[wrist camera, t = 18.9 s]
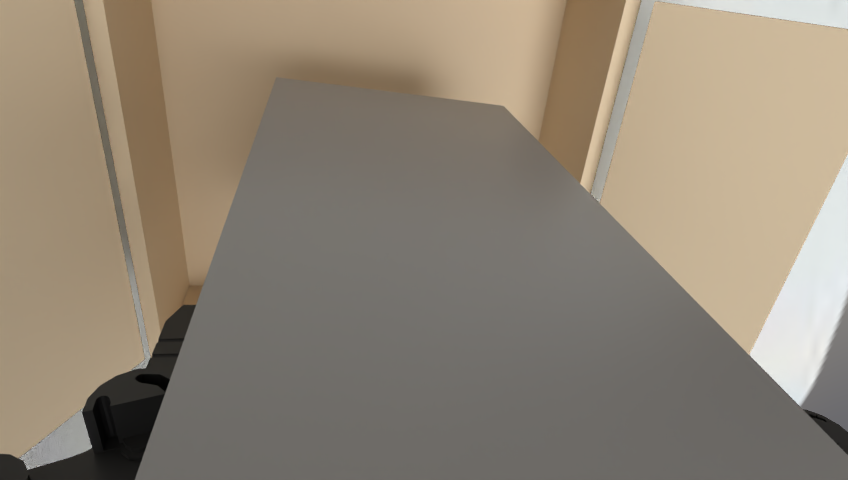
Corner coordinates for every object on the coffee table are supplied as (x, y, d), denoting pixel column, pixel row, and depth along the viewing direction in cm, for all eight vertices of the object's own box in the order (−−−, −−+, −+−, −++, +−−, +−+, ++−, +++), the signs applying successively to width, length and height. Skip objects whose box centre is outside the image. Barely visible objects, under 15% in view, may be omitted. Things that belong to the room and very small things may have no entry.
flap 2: (710, 431, 19) (713, 427, 19) (904, 38, 13) (905, 37, 13) (560, 345, 22) (564, 342, 23) (655, 1, 16) (658, 1, 16)
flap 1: (144, 359, 19) (138, 356, 20) (63, -54, 13) (54, -55, 13) (-31, 496, 14) (-39, 492, 14) (-297, -65, 8) (-309, -67, 8)
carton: (181, 288, 25) (151, 363, 21) (126, -94, 18) (63, -101, 13) (514, 285, 28) (549, 349, 24) (583, -45, 21) (651, -38, 16)
